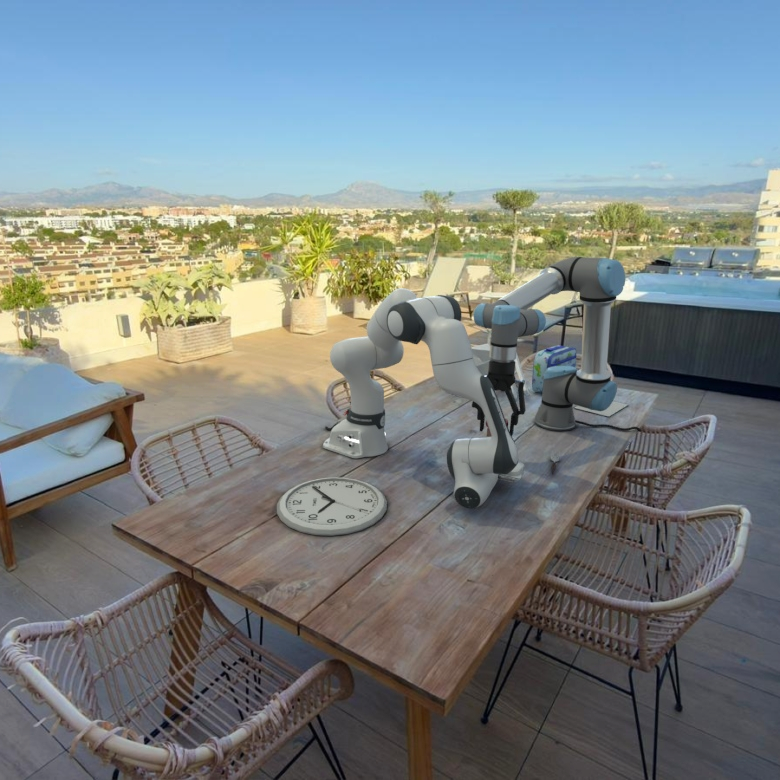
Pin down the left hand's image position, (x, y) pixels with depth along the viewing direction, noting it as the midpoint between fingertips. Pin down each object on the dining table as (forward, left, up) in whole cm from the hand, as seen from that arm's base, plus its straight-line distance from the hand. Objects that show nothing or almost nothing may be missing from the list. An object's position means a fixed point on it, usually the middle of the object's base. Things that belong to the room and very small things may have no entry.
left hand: (494, 455), depth 161 cm
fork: (+16, +14, -6) cm, 22 cm away
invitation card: (+26, +85, -6) cm, 89 cm away
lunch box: (+3, +99, -6) cm, 100 cm away
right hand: (0, -1, +8) cm, 8 cm away
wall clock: (-35, -39, -6) cm, 53 cm away
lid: (0, -1, +12) cm, 12 cm away
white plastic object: (-27, +80, -6) cm, 85 cm away
